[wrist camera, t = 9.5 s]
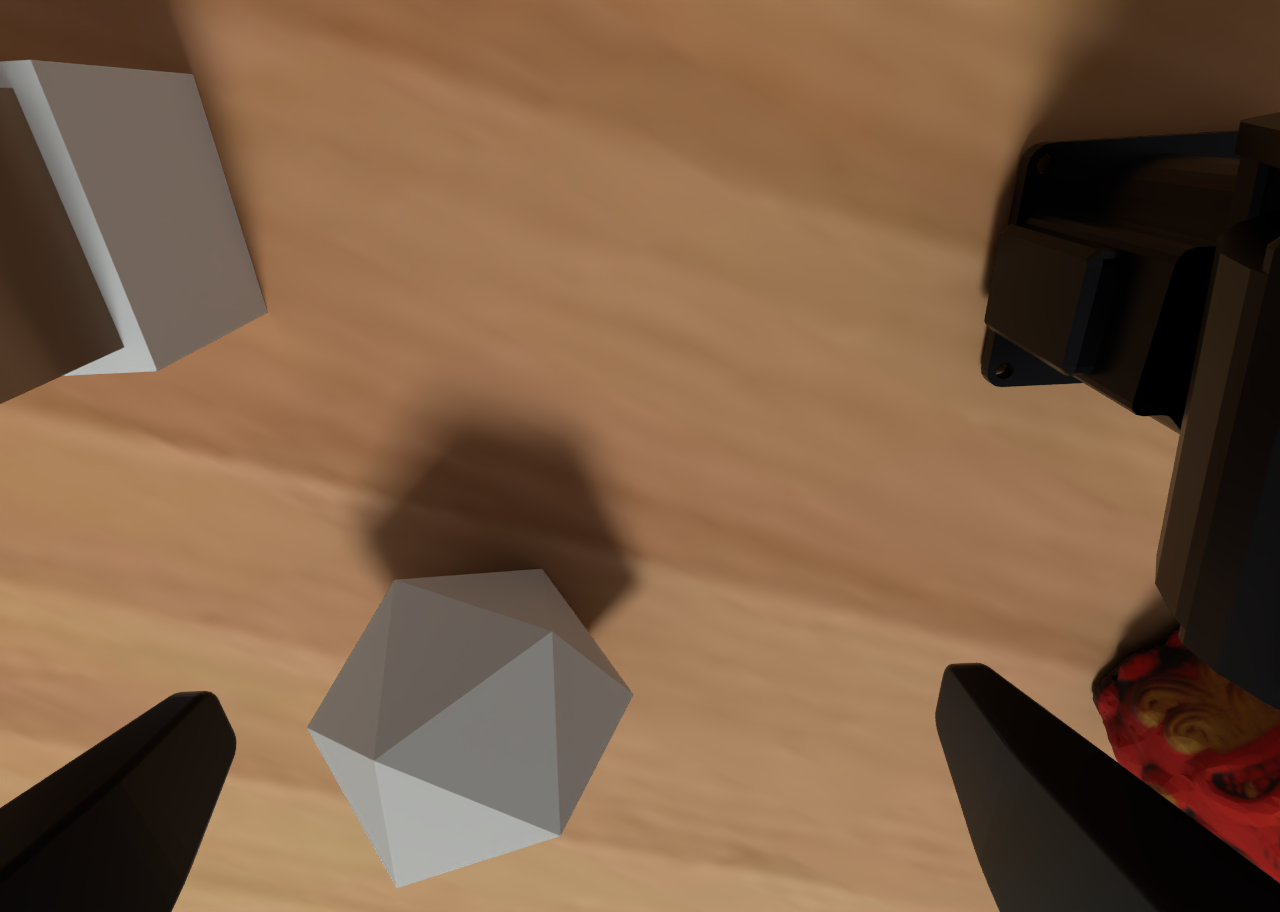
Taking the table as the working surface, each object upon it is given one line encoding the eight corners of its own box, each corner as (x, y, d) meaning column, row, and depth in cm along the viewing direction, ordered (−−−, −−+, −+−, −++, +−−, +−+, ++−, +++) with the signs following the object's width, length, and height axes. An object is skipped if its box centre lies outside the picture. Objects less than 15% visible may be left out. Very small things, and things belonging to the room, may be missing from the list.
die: (377, 494, 23) (184, 804, 18) (586, 517, 18) (398, 947, 13) (514, 600, 29) (395, 855, 24) (698, 639, 24) (596, 966, 19)
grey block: (195, 74, 17) (30, 60, 12) (269, 311, 19) (157, 371, 15) (-39, 88, 17) (-286, 79, 12) (68, 322, 19) (-103, 383, 15)
